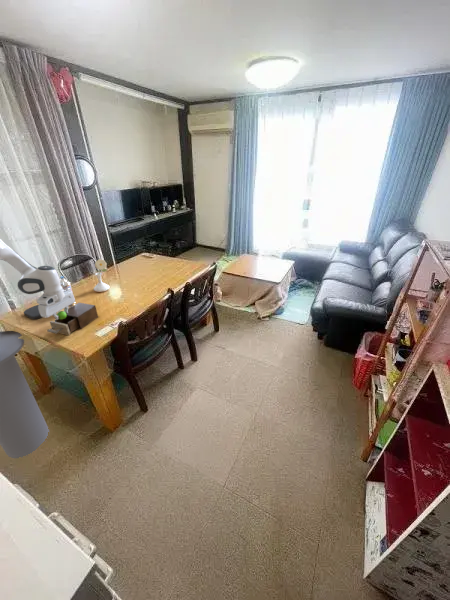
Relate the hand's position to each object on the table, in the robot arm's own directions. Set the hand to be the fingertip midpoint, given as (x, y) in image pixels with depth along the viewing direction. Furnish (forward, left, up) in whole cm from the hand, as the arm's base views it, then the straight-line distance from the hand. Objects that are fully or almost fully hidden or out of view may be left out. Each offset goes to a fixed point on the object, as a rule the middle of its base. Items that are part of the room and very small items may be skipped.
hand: (61, 316), depth 145 cm
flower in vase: (+54, +18, -10) cm, 57 cm away
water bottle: (+20, +15, -10) cm, 27 cm away
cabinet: (+12, 0, -10) cm, 16 cm away
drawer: (0, 0, -9) cm, 9 cm away
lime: (0, 0, -2) cm, 2 cm away
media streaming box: (+12, +33, -10) cm, 37 cm away
